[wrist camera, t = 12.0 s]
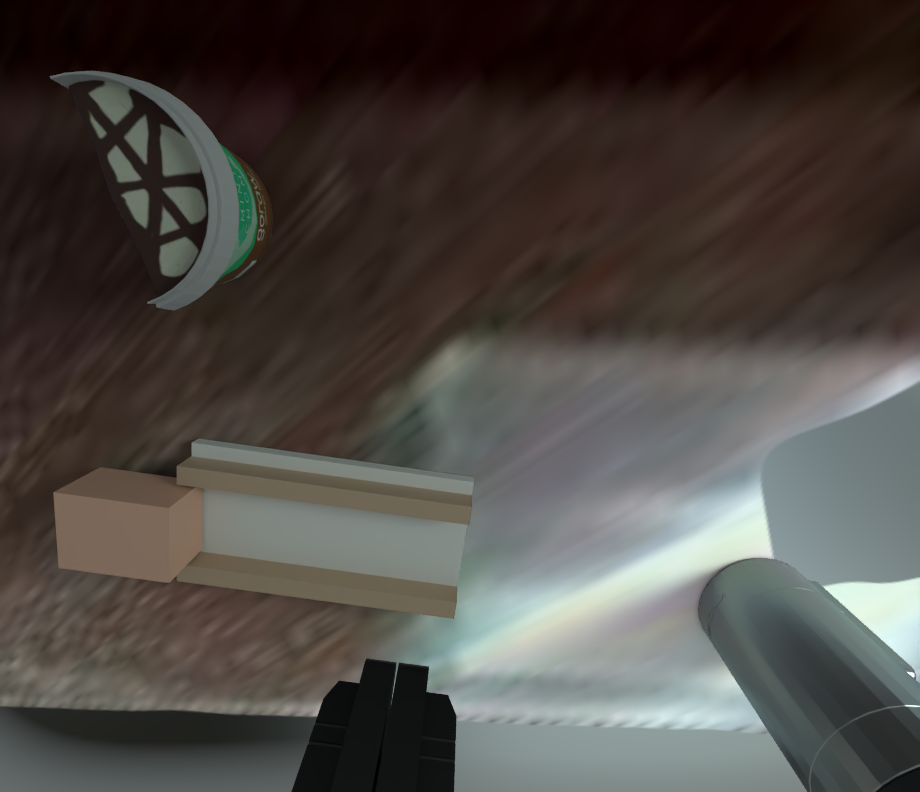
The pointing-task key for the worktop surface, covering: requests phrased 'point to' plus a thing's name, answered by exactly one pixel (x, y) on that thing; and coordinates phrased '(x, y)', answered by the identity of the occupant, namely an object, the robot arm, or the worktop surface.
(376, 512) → the chute
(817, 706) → the robot arm
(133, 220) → the food container
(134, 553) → the block
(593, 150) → the worktop surface
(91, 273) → the worktop surface
